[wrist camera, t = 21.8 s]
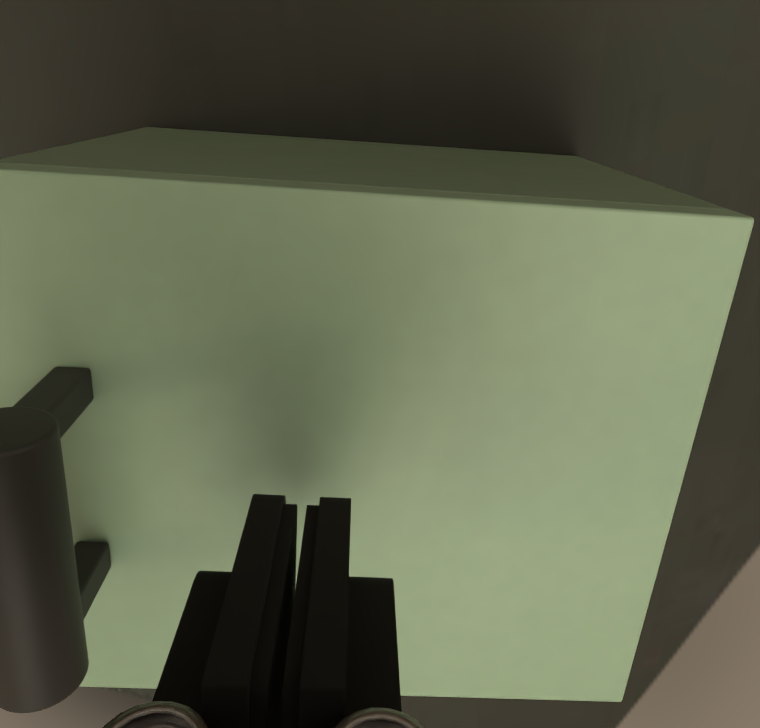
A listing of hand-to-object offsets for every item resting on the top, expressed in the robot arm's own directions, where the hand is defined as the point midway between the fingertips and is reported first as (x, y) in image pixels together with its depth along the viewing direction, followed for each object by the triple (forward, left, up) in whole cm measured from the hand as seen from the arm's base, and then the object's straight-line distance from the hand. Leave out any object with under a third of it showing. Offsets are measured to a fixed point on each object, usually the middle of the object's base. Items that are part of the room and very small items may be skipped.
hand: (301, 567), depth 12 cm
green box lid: (0, 0, -3) cm, 3 cm away
